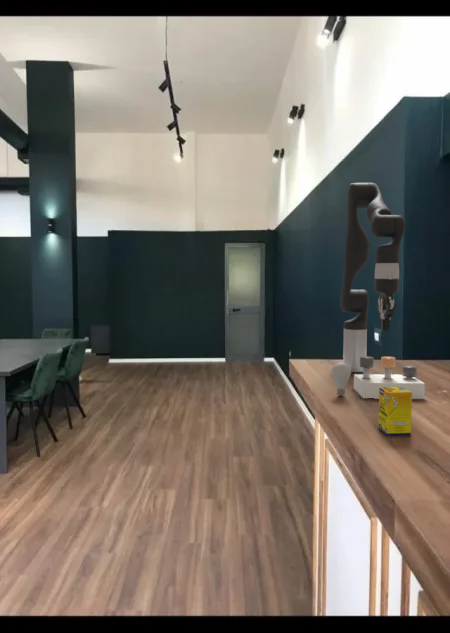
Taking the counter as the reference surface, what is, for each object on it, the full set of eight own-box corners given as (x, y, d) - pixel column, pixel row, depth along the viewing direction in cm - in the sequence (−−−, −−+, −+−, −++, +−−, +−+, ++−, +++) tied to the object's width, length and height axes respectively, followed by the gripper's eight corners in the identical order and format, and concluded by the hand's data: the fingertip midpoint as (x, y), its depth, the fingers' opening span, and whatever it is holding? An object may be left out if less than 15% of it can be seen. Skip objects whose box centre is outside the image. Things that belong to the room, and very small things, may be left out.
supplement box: (377, 429, 124) (378, 386, 123) (400, 428, 124) (401, 386, 123) (387, 437, 118) (388, 392, 117) (411, 436, 118) (412, 391, 117)
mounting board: (353, 388, 169) (353, 374, 168) (409, 388, 168) (409, 374, 168) (363, 398, 155) (363, 383, 154) (424, 399, 154) (424, 383, 154)
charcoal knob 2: (400, 390, 163) (400, 365, 163) (413, 390, 163) (414, 365, 163) (404, 393, 159) (404, 368, 158) (418, 393, 159) (418, 368, 158)
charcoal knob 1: (357, 381, 164) (358, 356, 163) (371, 381, 164) (371, 356, 163) (361, 384, 159) (361, 358, 159) (374, 384, 159) (375, 358, 158)
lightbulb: (351, 394, 160) (351, 361, 159) (349, 399, 154) (350, 364, 153) (332, 393, 162) (332, 360, 161) (330, 397, 156) (330, 363, 155)
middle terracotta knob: (379, 381, 163) (379, 356, 163) (392, 381, 163) (393, 356, 163) (382, 384, 159) (383, 358, 158) (396, 384, 159) (397, 358, 158)
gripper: (369, 277, 165) (368, 328, 166) (381, 277, 152) (380, 333, 153) (391, 277, 165) (390, 328, 166) (405, 277, 152) (404, 333, 153)
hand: (385, 330), depth 160 cm, fingers closed
